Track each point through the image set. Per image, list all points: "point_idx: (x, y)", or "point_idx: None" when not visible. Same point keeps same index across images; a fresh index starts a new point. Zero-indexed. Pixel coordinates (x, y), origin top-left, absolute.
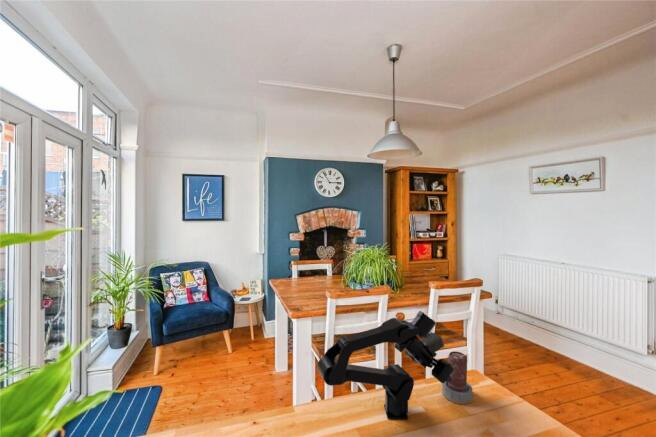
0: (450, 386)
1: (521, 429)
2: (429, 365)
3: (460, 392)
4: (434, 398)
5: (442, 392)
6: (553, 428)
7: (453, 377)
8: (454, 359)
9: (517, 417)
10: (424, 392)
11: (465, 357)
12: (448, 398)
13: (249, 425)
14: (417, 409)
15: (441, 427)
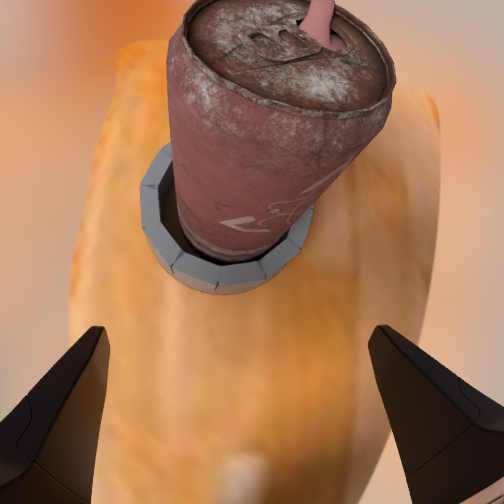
0: (238, 255)
1: (434, 171)
2: (101, 380)
3: (289, 230)
4: (198, 355)
5: (182, 282)
6: (431, 103)
7: (279, 228)
8: (353, 129)
9: (393, 130)
10: (134, 370)
11: (339, 19)
12: (240, 291)
13: None
14: (243, 483)
15: (369, 442)
